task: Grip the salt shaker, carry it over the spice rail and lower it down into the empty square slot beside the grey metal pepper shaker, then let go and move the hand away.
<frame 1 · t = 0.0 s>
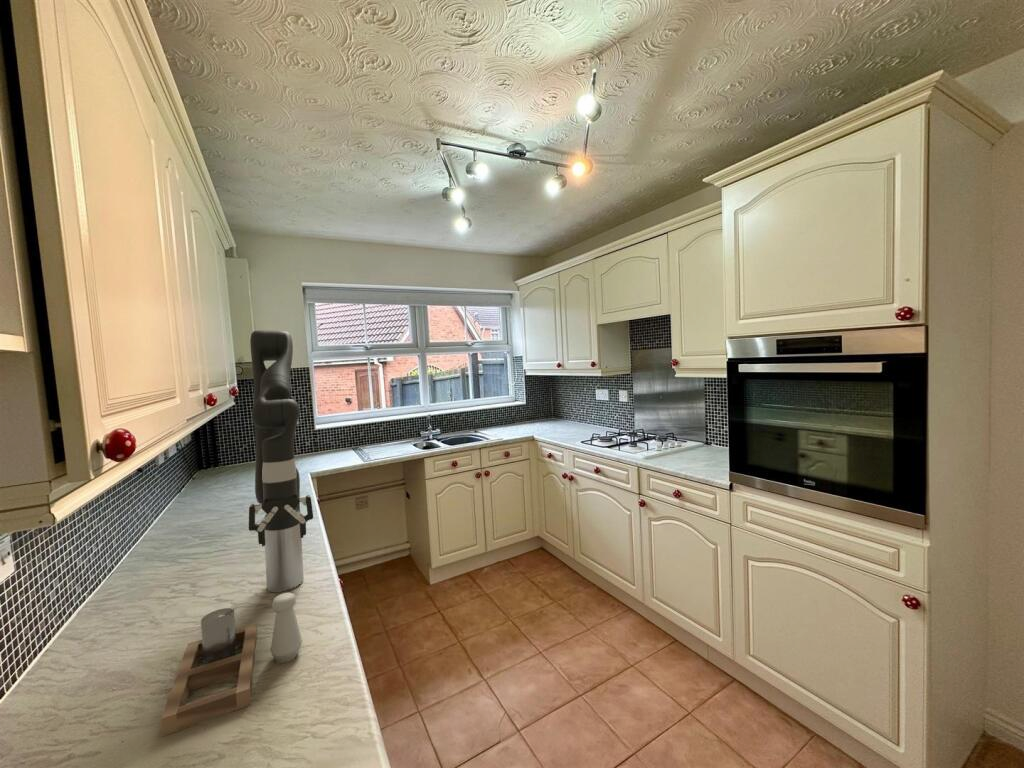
hand: (283, 541, 105), 17 cm above the countertop, tool pointing down, fingers open, 8 cm apart
salt shaker: (287, 657, 87), on the countertop
pepper shaker: (220, 663, 85), resting in spice rail
spice rail: (217, 678, 81), on the countertop
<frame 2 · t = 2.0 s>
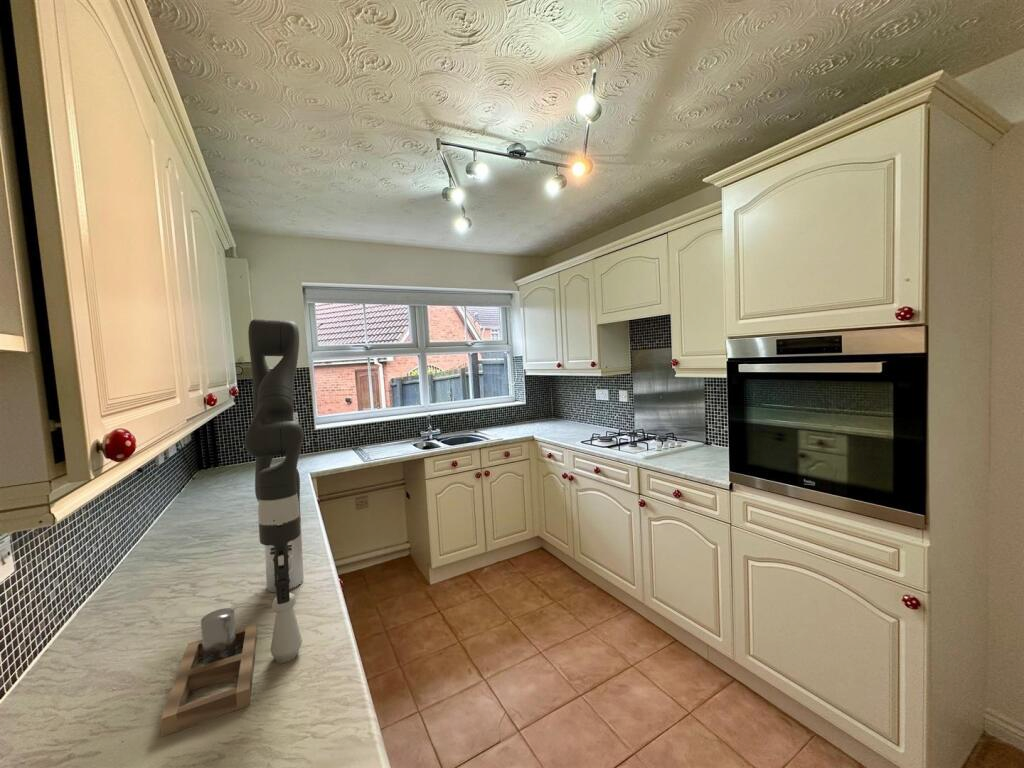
hand: (283, 592, 86), 14 cm above the countertop, tool pointing down, fingers open, 8 cm apart
nothing on the countertop moved.
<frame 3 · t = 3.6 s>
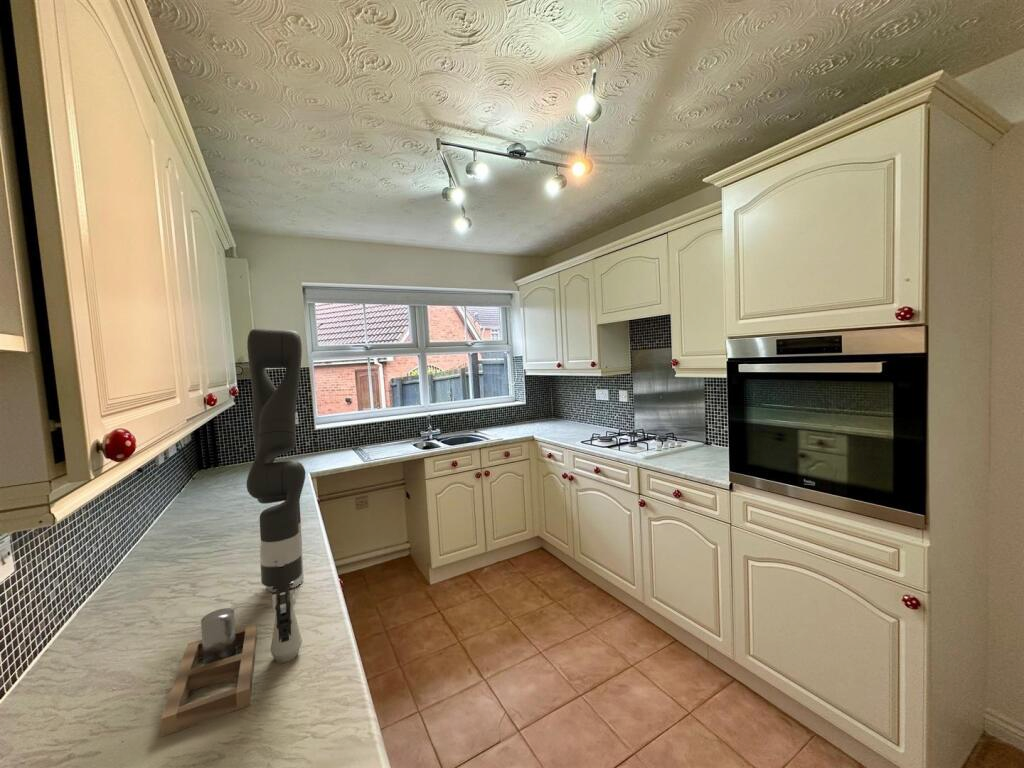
hand: (285, 635, 87), 4 cm above the countertop, tool pointing down, fingers open, 3 cm apart
salt shaker: (287, 657, 87), on the countertop, touching gripper
everything else where it was.
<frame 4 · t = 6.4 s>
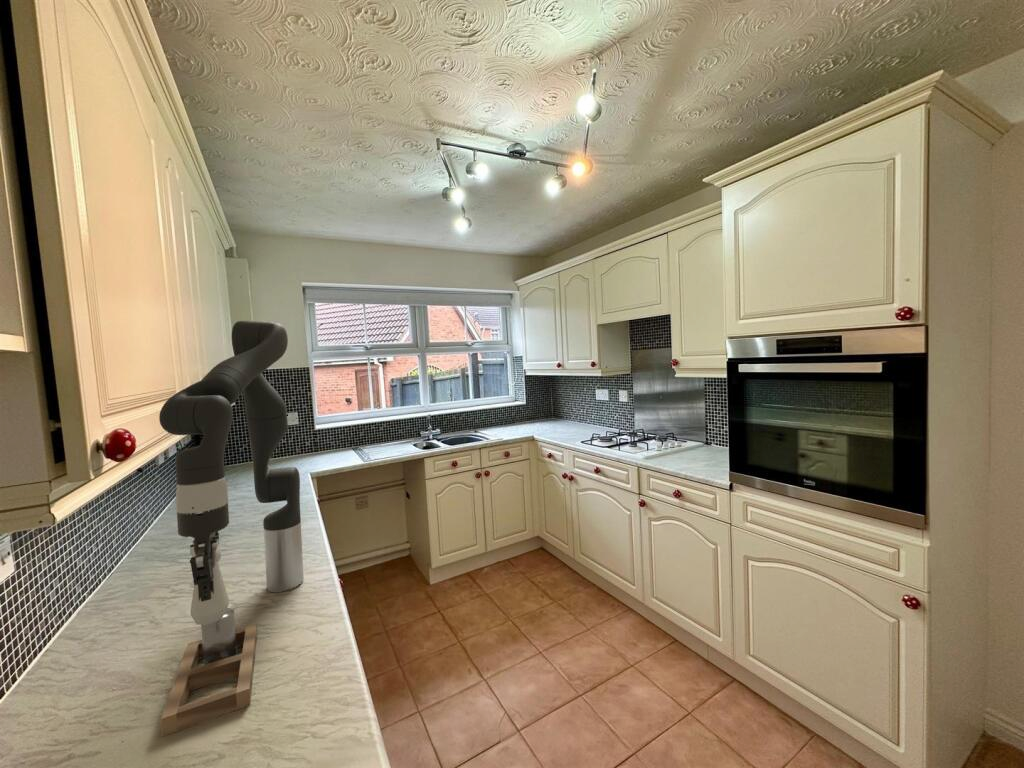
hand: (208, 596, 76), 19 cm above the countertop, tool pointing down, fingers closed on salt shaker, 3 cm apart
salt shaker: (210, 619, 76), point 15 cm above the countertop, touching gripper
everything else where it was.
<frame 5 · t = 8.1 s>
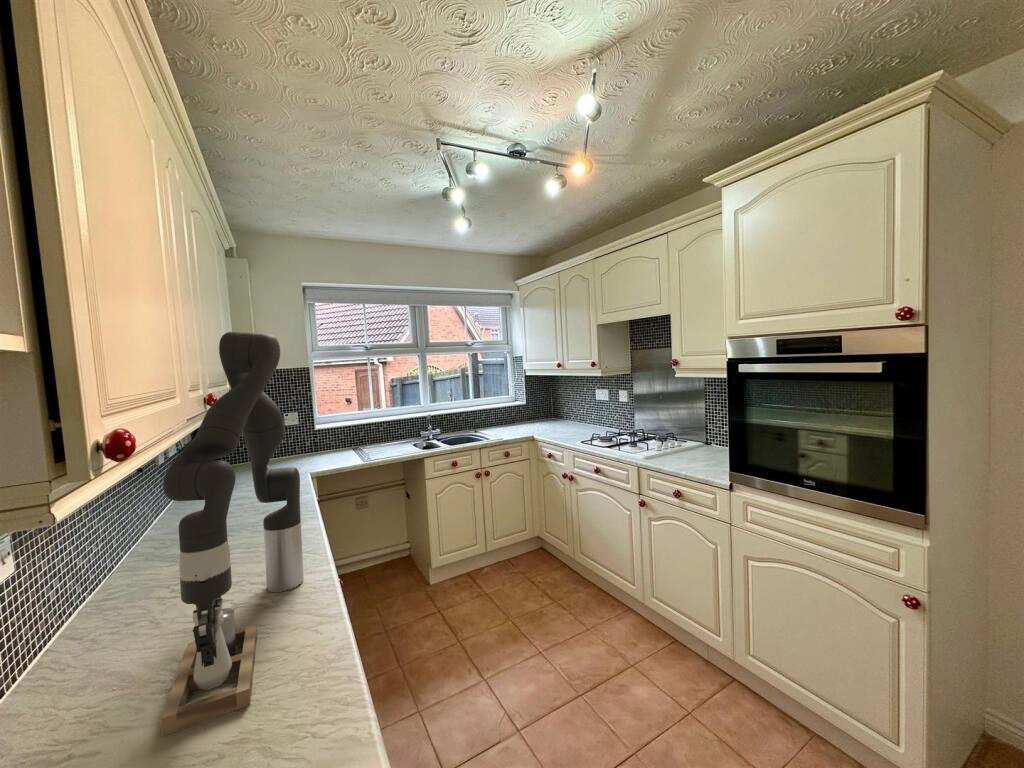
hand: (211, 659, 76), 7 cm above the countertop, tool pointing down, fingers closed on salt shaker, 3 cm apart
salt shaker: (213, 682, 76), point 3 cm above the countertop, touching gripper
everything else where it was.
when the fingers open (5 cm above the countertop, at t = 9.1 s): salt shaker stays where it is, resting in spice rail.
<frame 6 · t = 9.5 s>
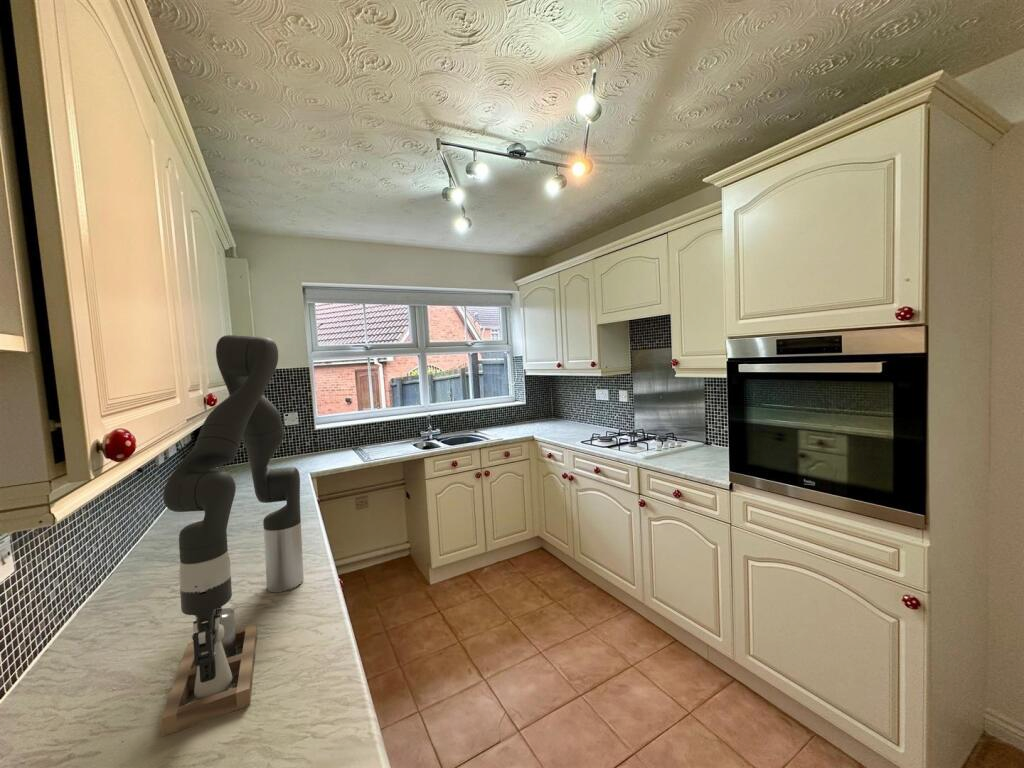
hand: (211, 667, 76), 6 cm above the countertop, tool pointing down, fingers open, 6 cm apart
salt shaker: (214, 697, 76), resting in spice rail
everything else where it was.
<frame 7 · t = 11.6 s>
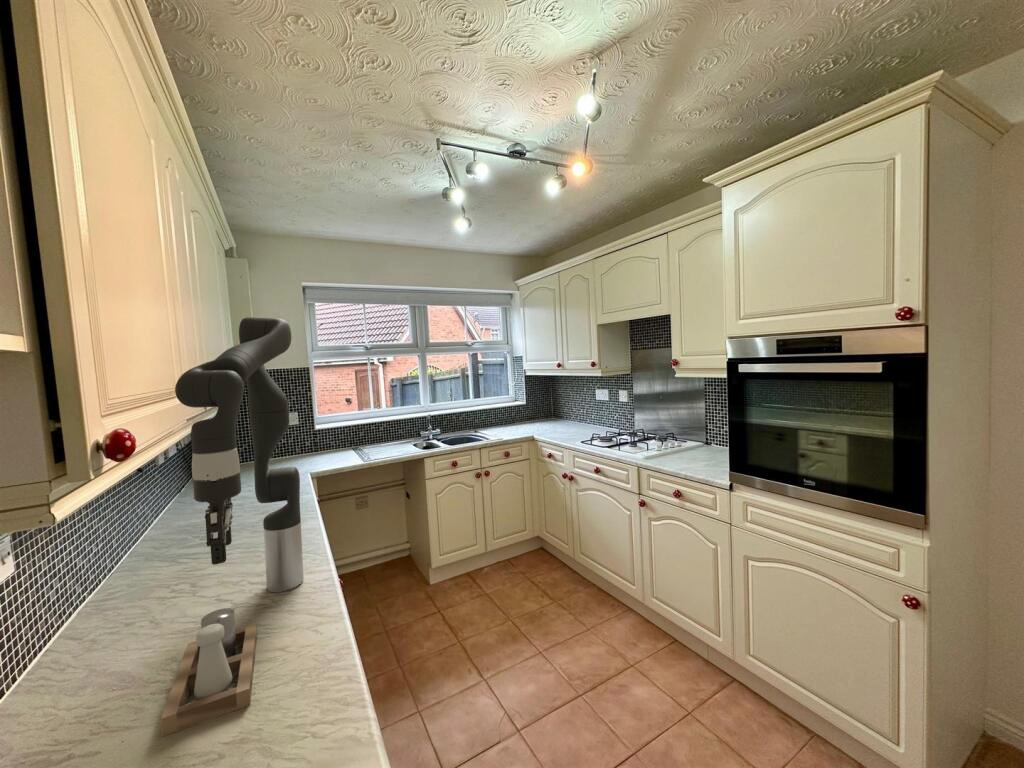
hand: (222, 553, 81), 25 cm above the countertop, tool pointing down, fingers open, 8 cm apart
nothing on the countertop moved.
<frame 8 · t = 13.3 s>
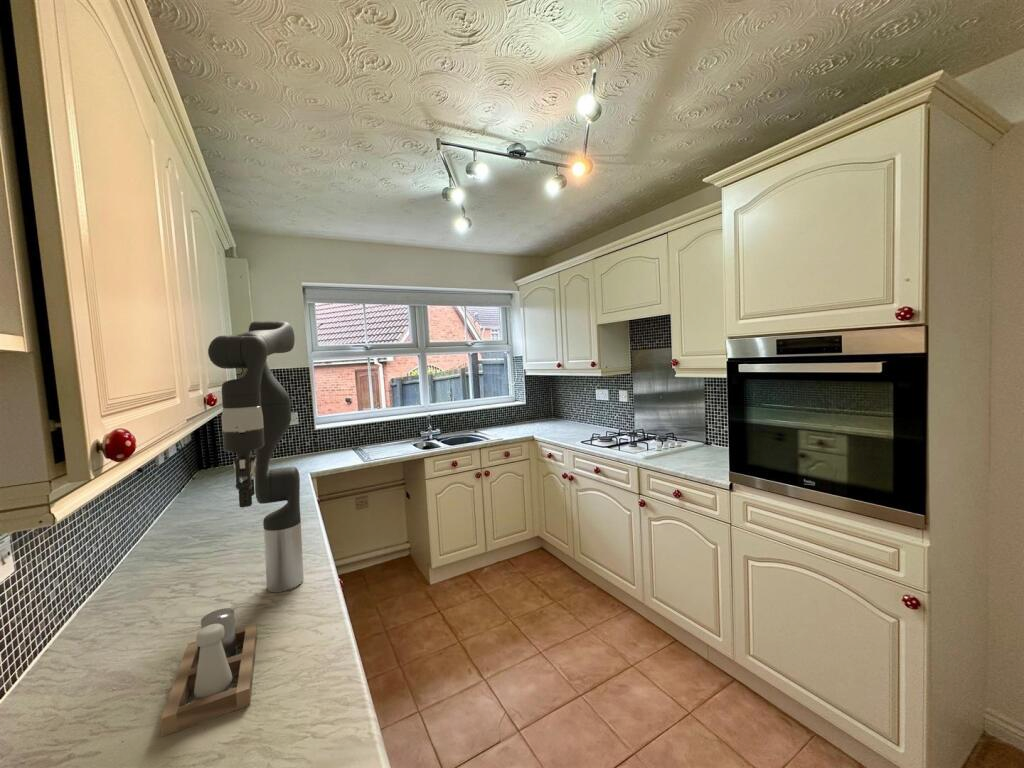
hand: (247, 501, 90), 32 cm above the countertop, tool pointing down, fingers open, 8 cm apart
nothing on the countertop moved.
at the end: salt shaker 0.3 cm from the target spot on the spice rail, point 0.0 cm above the spice rail's base; salt shaker tilted 0°; the gripper is holding nothing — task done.
